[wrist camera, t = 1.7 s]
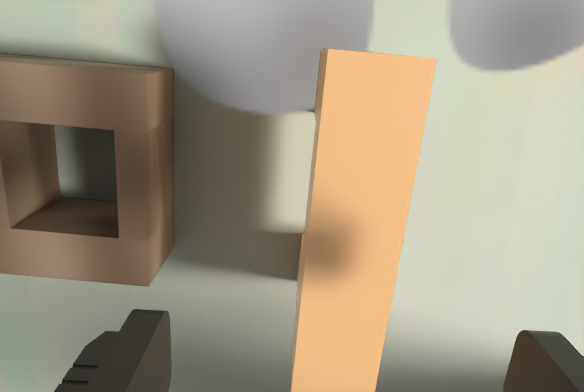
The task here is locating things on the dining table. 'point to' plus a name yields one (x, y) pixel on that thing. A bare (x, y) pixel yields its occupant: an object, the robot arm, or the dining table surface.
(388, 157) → the tan u-shaped block
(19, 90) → the brown slotted wooden block
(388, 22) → the dining table surface
